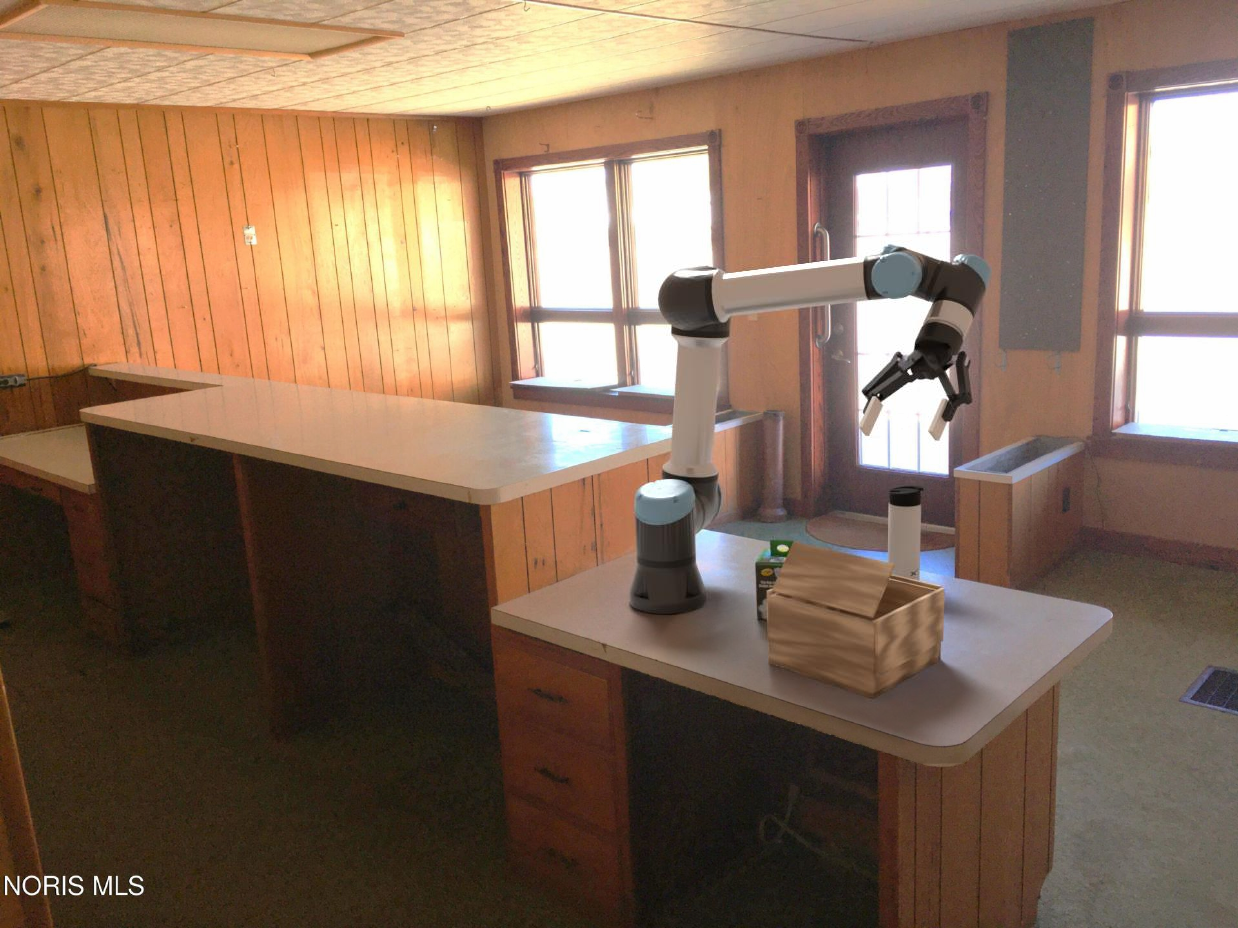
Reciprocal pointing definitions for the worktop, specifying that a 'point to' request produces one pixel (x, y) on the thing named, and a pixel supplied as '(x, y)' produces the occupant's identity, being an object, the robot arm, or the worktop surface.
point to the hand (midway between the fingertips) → (897, 433)
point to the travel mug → (905, 530)
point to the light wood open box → (859, 637)
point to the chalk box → (769, 572)
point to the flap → (834, 578)
